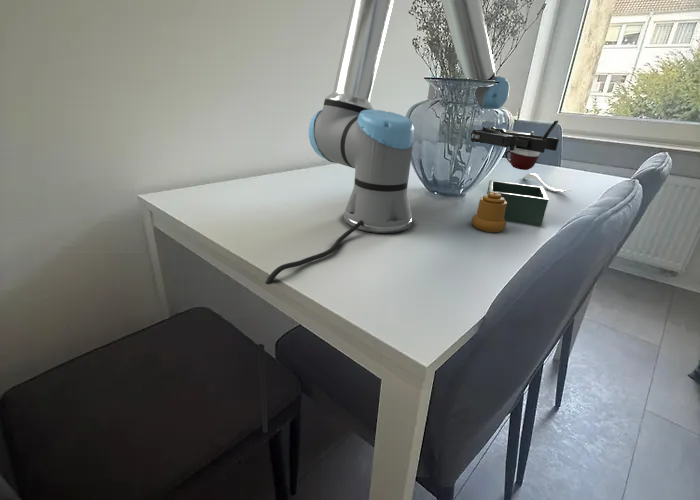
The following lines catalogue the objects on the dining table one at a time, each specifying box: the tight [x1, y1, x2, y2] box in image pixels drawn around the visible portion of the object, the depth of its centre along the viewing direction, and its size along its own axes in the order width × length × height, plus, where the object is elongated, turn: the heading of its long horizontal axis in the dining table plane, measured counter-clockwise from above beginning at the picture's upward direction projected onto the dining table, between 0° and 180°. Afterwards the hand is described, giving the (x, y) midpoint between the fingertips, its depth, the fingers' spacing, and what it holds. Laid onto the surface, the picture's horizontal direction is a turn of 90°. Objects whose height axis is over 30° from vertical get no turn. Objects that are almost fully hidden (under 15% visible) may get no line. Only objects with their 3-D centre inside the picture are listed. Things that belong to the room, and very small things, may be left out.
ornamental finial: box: [471, 192, 507, 234], centre depth 88 cm, size 8×8×8 cm
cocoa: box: [504, 120, 559, 171], centre depth 93 cm, size 10×6×12 cm, turn 23°
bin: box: [486, 179, 549, 227], centre depth 98 cm, size 12×13×7 cm
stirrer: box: [522, 173, 573, 193], centre depth 126 cm, size 20×4×5 cm
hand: (550, 145), depth 90 cm, fingers closed on cocoa, 6 cm apart
